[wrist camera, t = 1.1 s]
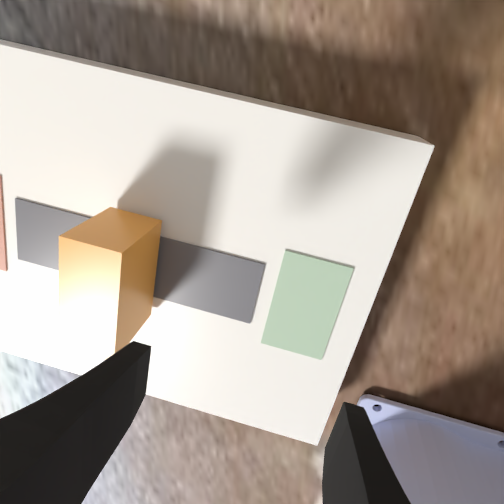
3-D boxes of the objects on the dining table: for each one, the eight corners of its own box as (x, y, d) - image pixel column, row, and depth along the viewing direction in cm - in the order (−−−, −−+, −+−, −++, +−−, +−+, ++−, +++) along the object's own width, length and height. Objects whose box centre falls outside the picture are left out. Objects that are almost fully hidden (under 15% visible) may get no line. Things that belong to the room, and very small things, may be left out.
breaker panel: (418, 136, 17) (435, 146, 14) (318, 404, 24) (317, 447, 21) (-41, 29, 19) (-106, 20, 16) (-15, 307, 26) (-58, 334, 23)
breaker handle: (162, 220, 17) (121, 253, 14) (151, 314, 19) (113, 363, 16) (110, 206, 17) (58, 235, 14) (105, 301, 20) (58, 346, 16)
